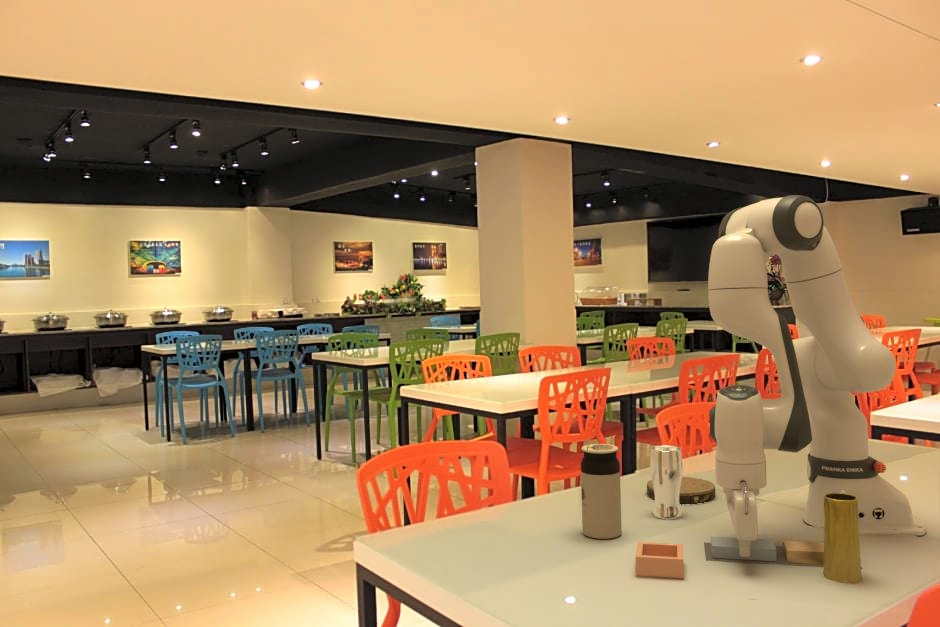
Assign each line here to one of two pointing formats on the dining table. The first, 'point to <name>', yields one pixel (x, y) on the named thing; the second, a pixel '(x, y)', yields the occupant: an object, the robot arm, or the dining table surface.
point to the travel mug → (601, 491)
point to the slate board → (730, 549)
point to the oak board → (803, 552)
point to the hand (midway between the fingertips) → (742, 549)
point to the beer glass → (666, 480)
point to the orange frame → (659, 560)
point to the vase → (841, 538)
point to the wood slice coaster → (690, 491)
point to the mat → (779, 554)
